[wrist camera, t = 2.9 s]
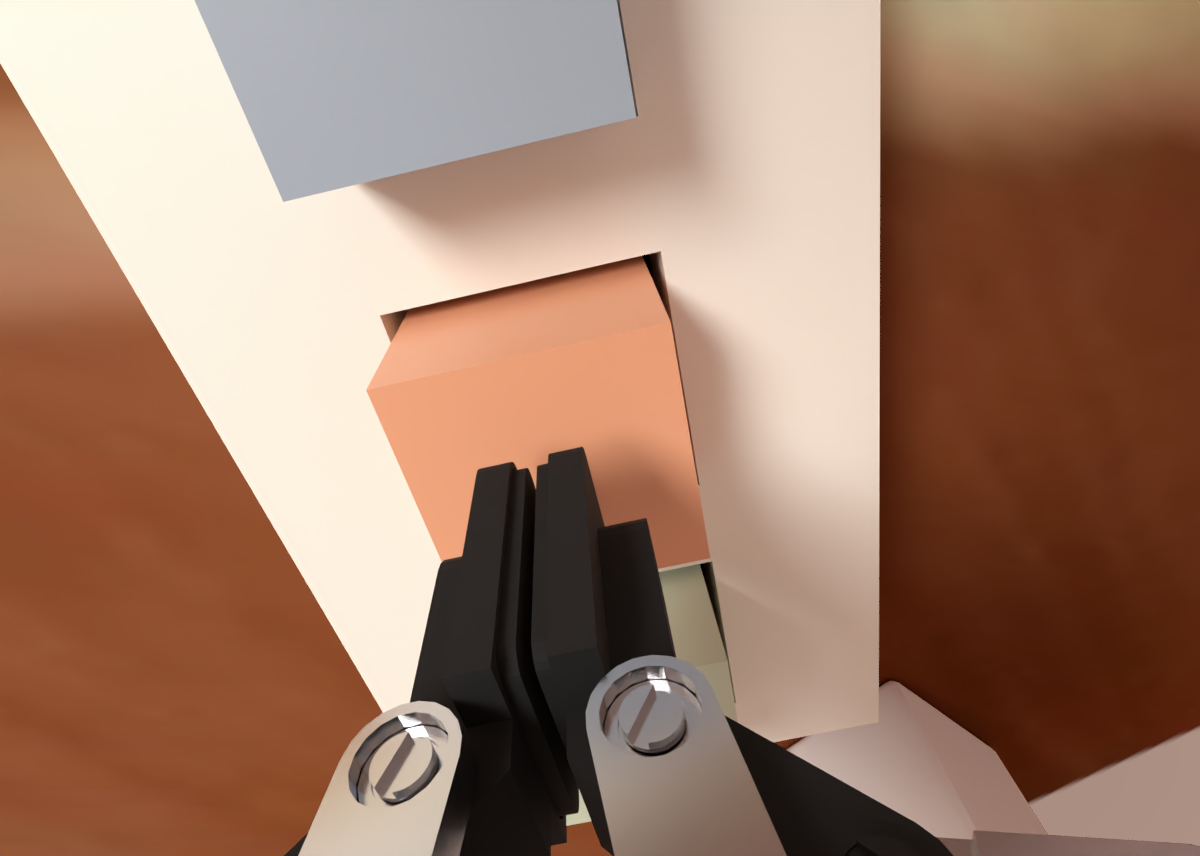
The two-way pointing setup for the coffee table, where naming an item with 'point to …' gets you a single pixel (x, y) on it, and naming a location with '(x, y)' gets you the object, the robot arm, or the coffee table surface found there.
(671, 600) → the key sage
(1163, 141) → the coffee table surface
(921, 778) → the medicine bottle
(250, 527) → the coffee table surface
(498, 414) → the key terracotta
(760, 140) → the key board
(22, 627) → the coffee table surface
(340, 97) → the key slate
